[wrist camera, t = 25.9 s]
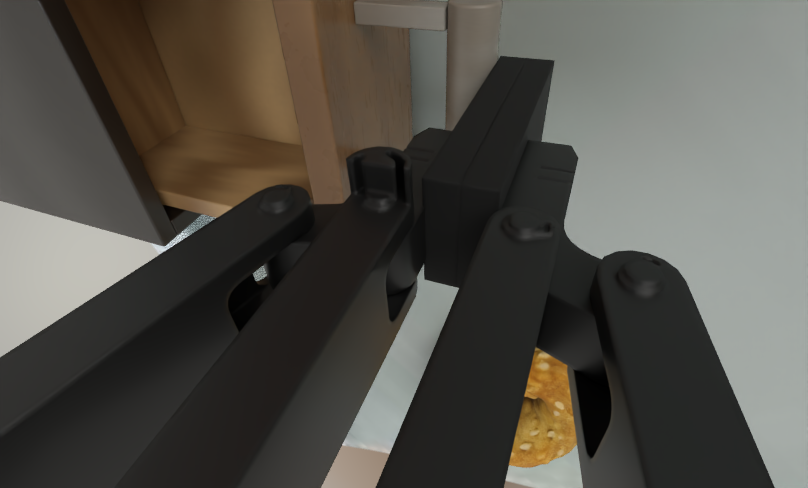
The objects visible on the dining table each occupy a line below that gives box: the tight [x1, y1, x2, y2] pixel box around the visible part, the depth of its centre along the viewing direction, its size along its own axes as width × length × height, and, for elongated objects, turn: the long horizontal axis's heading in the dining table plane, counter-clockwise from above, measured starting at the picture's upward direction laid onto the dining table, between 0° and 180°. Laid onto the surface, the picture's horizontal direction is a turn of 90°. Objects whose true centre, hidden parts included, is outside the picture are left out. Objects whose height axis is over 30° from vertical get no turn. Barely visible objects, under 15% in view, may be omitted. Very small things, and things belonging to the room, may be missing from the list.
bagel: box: [509, 347, 577, 468], centre depth 27 cm, size 10×11×5 cm
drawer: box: [65, 0, 503, 218], centre depth 17 cm, size 17×11×6 cm
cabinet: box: [0, 0, 202, 246], centre depth 20 cm, size 14×13×8 cm
